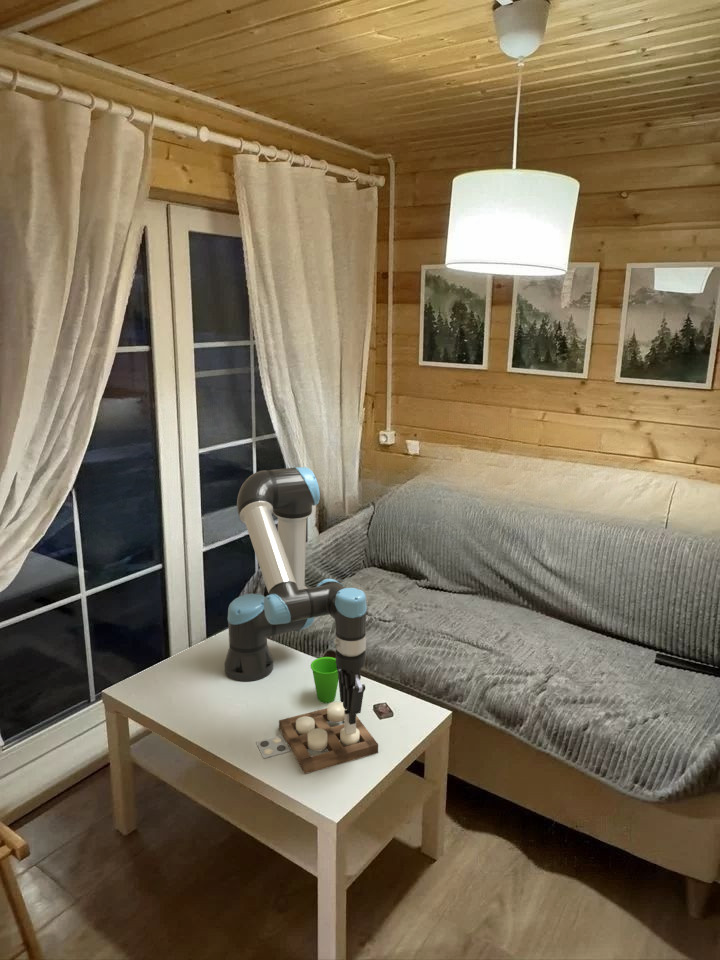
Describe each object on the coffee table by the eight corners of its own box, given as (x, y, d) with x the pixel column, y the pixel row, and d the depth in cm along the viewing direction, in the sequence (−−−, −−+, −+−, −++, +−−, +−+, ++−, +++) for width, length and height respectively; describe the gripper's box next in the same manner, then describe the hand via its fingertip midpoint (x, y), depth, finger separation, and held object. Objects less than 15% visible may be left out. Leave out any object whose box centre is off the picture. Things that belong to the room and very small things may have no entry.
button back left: (324, 714, 186) (324, 704, 185) (341, 709, 188) (341, 700, 187) (331, 724, 182) (331, 714, 181) (348, 719, 184) (348, 709, 183)
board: (279, 728, 185) (279, 720, 184) (346, 710, 193) (346, 703, 192) (304, 774, 167) (304, 765, 166) (378, 752, 175) (378, 744, 175)
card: (255, 742, 179) (255, 741, 178) (281, 736, 181) (281, 734, 181) (263, 759, 172) (263, 757, 172) (290, 751, 175) (290, 750, 175)
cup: (337, 709, 193) (338, 674, 191) (307, 705, 195) (306, 671, 192) (345, 691, 202) (345, 658, 199) (315, 688, 204) (315, 655, 201)
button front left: (337, 739, 179) (337, 729, 178) (354, 734, 181) (354, 724, 180) (344, 750, 174) (344, 740, 174) (362, 745, 176) (362, 735, 176)
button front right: (304, 741, 175) (304, 731, 174) (323, 736, 177) (323, 726, 176) (311, 753, 170) (311, 742, 169) (330, 747, 172) (330, 737, 171)
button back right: (293, 728, 183) (293, 719, 182) (310, 724, 185) (310, 714, 184) (299, 739, 179) (299, 729, 178) (317, 734, 181) (317, 724, 180)
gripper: (326, 640, 175) (327, 721, 181) (347, 665, 163) (346, 750, 169) (353, 635, 178) (353, 714, 184) (375, 658, 166) (374, 742, 172)
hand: (350, 731), depth 177 cm, fingers closed
